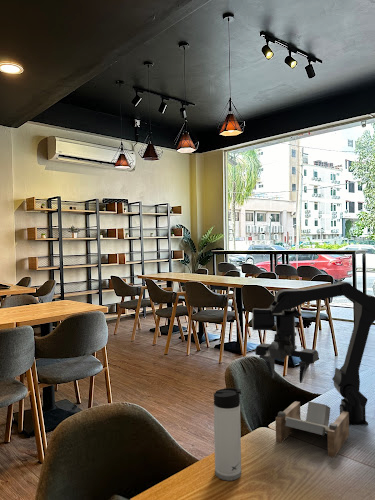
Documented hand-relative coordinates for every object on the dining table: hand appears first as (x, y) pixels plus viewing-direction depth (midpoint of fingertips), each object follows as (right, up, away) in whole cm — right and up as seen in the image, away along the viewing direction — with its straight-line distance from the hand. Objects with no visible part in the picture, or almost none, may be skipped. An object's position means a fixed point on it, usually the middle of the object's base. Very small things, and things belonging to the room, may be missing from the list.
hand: (286, 380), depth 125 cm
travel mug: (-21, -13, -30) cm, 39 cm away
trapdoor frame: (+4, -12, -12) cm, 18 cm away
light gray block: (+6, -10, -9) cm, 15 cm away
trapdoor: (+3, -10, -14) cm, 17 cm away
